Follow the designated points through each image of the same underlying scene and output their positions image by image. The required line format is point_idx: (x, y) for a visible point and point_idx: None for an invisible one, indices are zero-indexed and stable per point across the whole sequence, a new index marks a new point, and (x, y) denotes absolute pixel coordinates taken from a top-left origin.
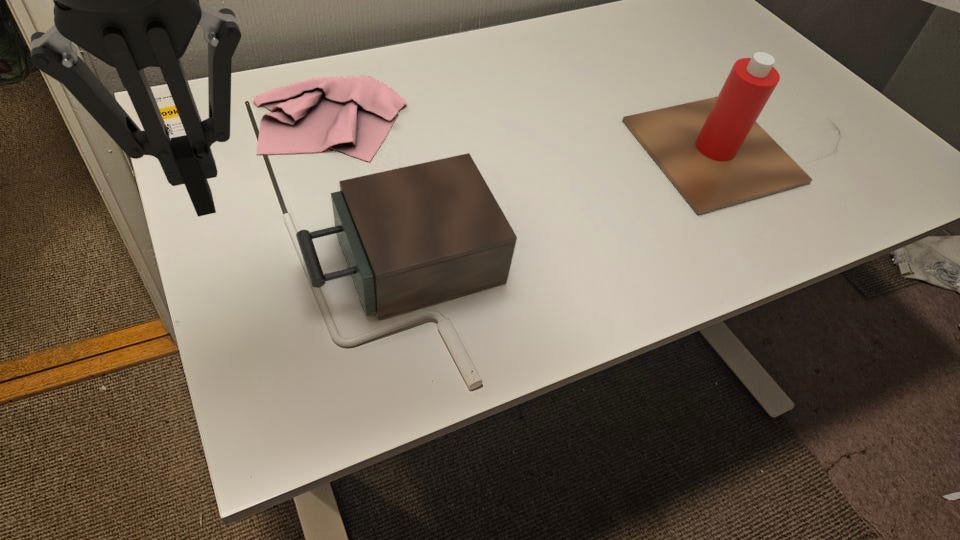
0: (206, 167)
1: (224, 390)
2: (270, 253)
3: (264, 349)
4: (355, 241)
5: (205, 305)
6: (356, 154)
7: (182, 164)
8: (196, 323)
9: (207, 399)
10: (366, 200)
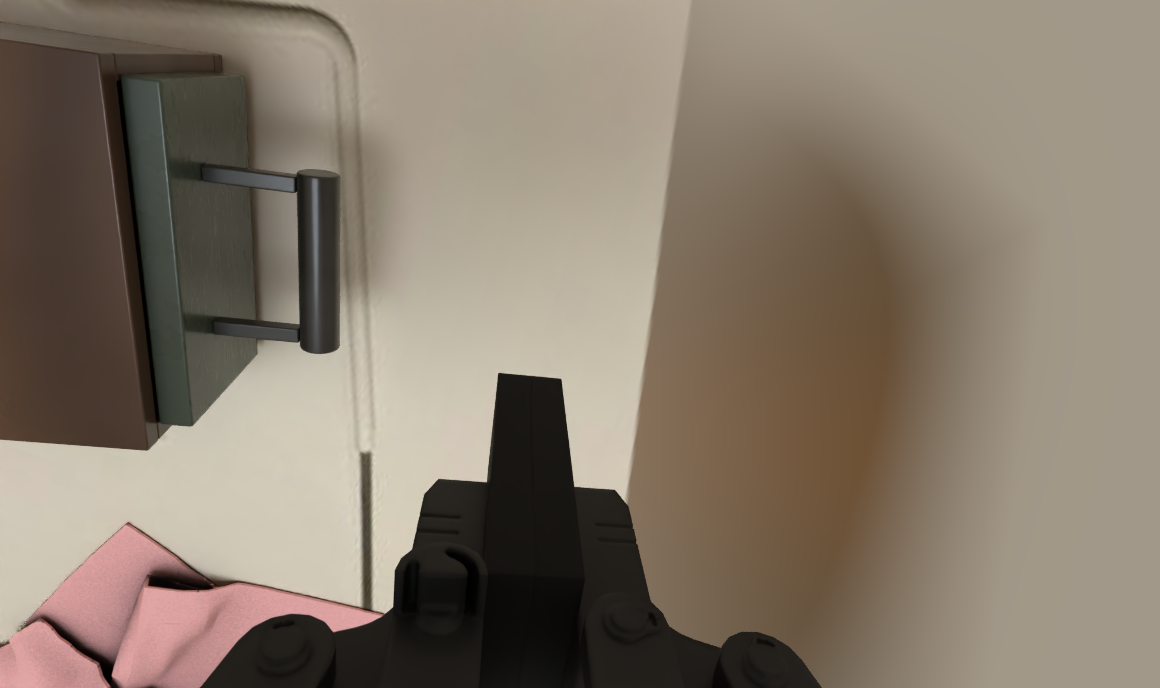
0: (459, 521)
1: (631, 48)
2: (428, 362)
3: (517, 113)
4: (153, 232)
5: (598, 287)
6: (154, 552)
7: (555, 550)
8: (629, 251)
9: (671, 44)
10: (74, 354)
